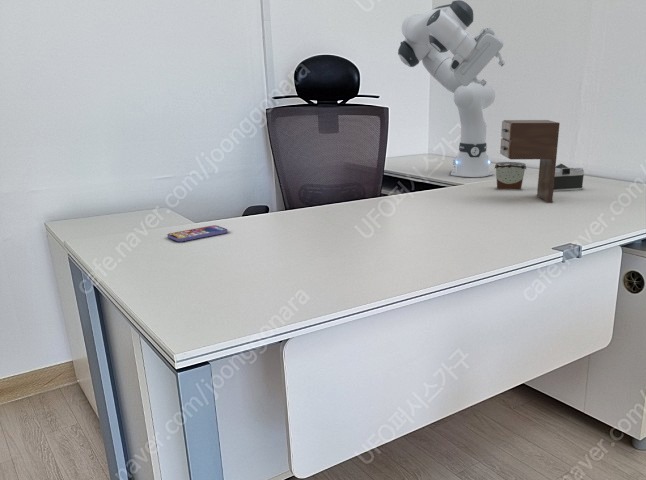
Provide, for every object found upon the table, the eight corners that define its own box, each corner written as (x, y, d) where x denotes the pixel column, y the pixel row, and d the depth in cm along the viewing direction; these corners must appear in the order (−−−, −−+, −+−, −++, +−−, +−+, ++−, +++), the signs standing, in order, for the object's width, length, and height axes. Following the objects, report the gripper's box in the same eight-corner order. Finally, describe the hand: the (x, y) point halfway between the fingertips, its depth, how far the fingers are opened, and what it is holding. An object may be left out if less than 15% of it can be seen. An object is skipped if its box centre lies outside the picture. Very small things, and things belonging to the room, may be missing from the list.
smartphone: (229, 232, 167) (179, 242, 157) (215, 227, 172) (166, 237, 162) (229, 229, 167) (178, 239, 156) (215, 224, 171) (165, 233, 161)
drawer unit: (495, 195, 221) (499, 120, 211) (541, 195, 221) (547, 120, 212) (503, 203, 207) (508, 122, 198) (552, 202, 208) (559, 122, 199)
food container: (523, 187, 237) (525, 161, 234) (524, 190, 232) (526, 164, 228) (492, 186, 238) (493, 161, 235) (493, 189, 233) (494, 163, 229)
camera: (573, 186, 240) (575, 160, 237) (585, 189, 233) (588, 163, 229) (538, 188, 236) (540, 162, 232) (550, 191, 228) (552, 165, 225)
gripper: (487, 22, 207) (515, 49, 211) (448, 67, 219) (475, 92, 223) (485, 27, 202) (514, 55, 206) (446, 72, 214) (474, 98, 218)
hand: (494, 74), depth 215 cm, fingers open, 8 cm apart
